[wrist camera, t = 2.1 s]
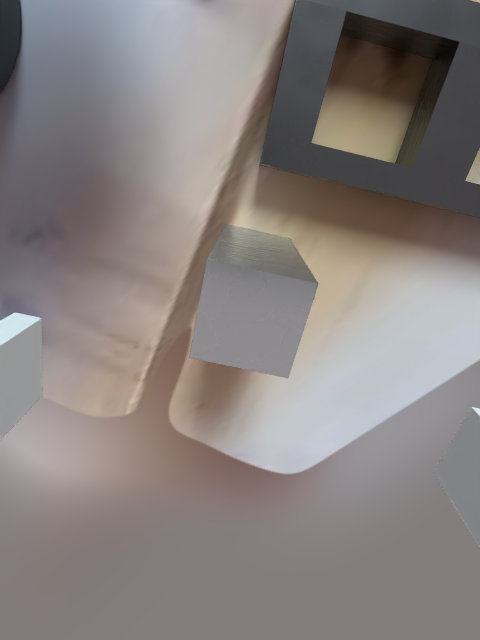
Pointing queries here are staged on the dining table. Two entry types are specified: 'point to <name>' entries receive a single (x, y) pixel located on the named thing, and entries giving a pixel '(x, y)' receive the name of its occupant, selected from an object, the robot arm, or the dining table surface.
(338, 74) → the dining table surface
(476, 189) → the dark grey flat frame
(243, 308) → the solid steel block
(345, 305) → the dining table surface
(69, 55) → the dining table surface
